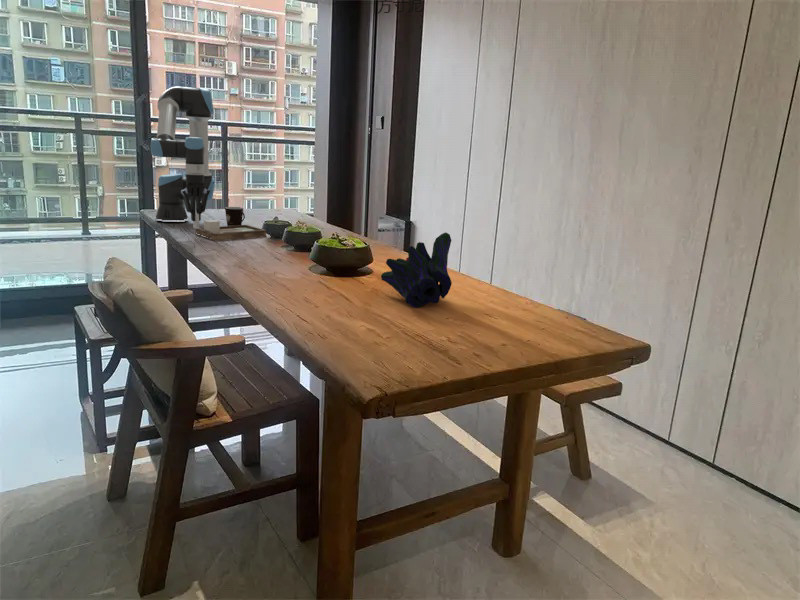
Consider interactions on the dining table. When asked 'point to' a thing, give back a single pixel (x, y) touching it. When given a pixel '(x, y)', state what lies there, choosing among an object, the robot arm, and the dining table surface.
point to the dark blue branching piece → (421, 273)
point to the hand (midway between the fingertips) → (196, 228)
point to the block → (212, 226)
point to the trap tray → (233, 232)
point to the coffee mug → (234, 215)
